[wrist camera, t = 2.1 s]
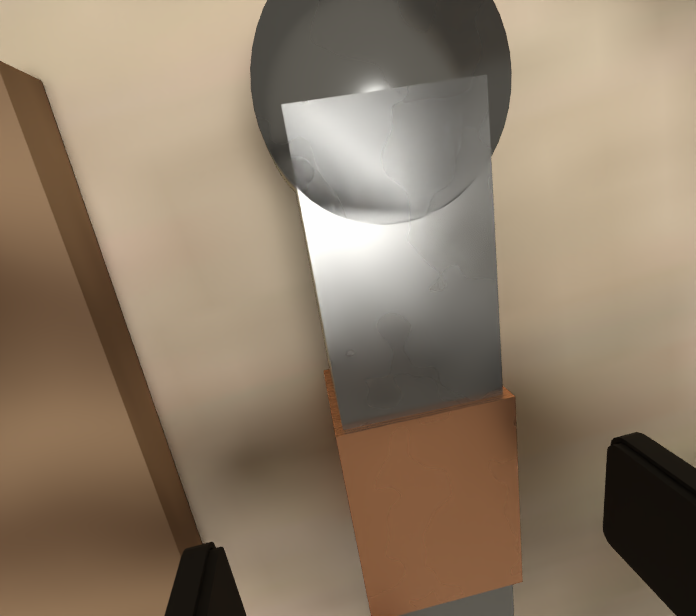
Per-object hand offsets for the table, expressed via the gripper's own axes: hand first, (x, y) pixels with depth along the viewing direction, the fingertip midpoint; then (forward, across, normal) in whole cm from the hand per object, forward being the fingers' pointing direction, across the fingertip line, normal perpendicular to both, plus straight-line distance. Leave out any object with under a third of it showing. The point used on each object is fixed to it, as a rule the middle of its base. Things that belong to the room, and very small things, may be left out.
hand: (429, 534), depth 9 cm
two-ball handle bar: (+4, -1, 0) cm, 5 cm away
